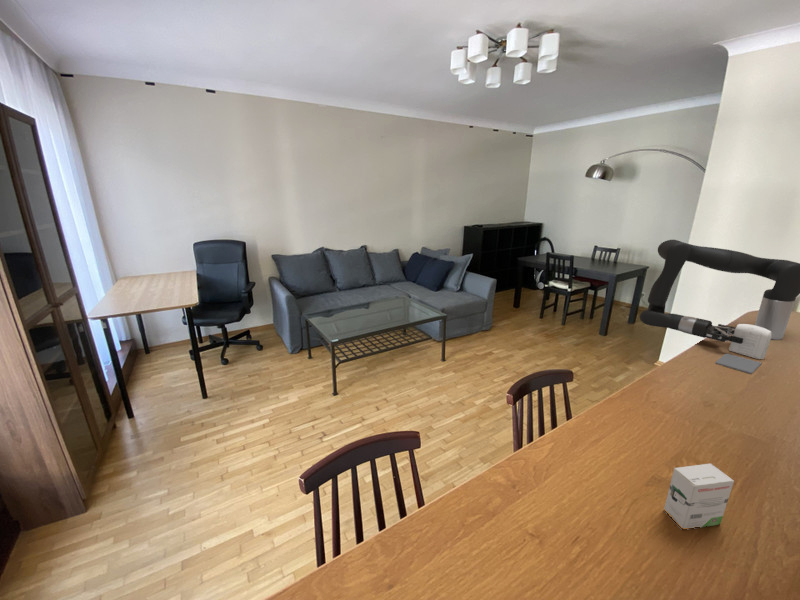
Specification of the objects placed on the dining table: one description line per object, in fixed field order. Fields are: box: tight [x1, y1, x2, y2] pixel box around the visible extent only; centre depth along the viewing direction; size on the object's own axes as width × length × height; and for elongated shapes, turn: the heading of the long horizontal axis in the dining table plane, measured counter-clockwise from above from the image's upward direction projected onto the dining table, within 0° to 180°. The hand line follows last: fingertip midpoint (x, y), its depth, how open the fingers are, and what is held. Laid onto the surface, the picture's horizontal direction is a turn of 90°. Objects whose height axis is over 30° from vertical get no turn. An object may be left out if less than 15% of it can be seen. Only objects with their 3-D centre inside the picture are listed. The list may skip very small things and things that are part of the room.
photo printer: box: [728, 323, 772, 360], centre depth 131 cm, size 10×4×12 cm, turn 28°
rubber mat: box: [714, 353, 762, 375], centre depth 126 cm, size 12×10×1 cm
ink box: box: [663, 462, 735, 529], centre depth 68 cm, size 9×5×12 cm, turn 96°
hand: (746, 338), depth 131 cm, fingers open, 8 cm apart
